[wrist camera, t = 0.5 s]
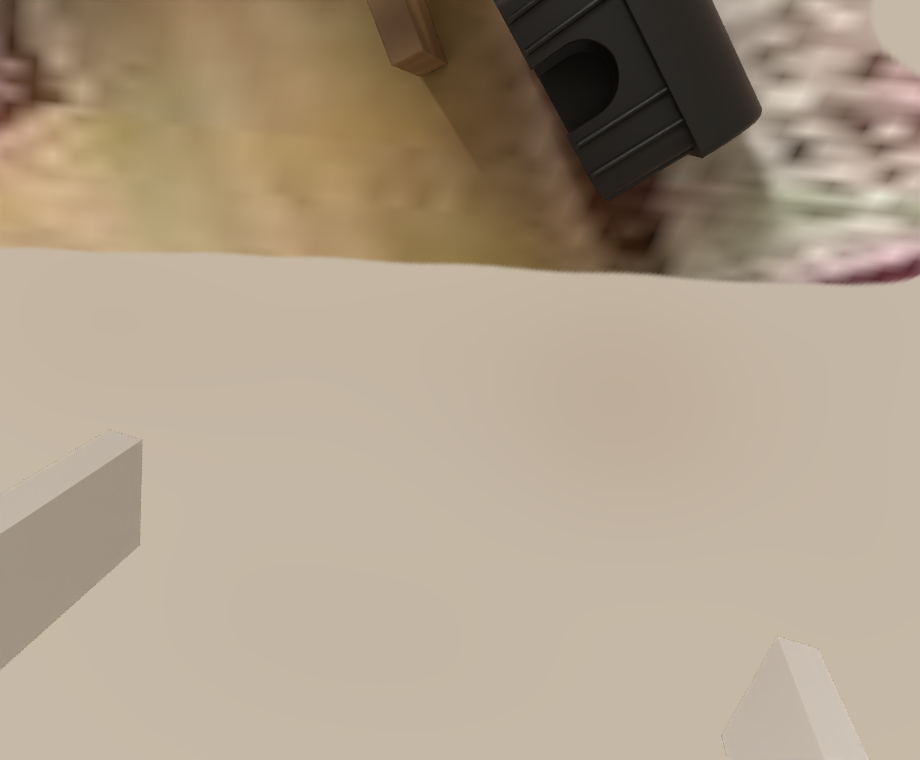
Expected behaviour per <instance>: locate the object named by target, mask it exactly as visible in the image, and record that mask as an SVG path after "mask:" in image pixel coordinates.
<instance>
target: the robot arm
mask: <svg viewBox="0 0 920 760" xmlns="http://www.w3.org/2000/svg"><path fill="white" fill-rule="evenodd" d="M141 474H142V439H139V438H136V437H132V436H129V435H126V434H123V433H119V432H116V431H113V430H110V429H109V430H107V431H105V432H104V433H102V434H100V435H99V436H97V437H95V438H94V439H92V440H90V441H89V442H87V443H85V444H84V445H82V446H80V447H79V448H77V449H75V450H73V451H72V452H70V453H69V454H67V455H65V456H64V457H62V458H60V459H59V460H57V461H55V462H53V463H52V464H50V465H49V466H47V467H45V468H43V469H42V470H40V471H38V472H37V473H35V474H33V475H32V476H30V477H28V478H27V479H25V480H24V481H22V482H20V483H18V484H17V485H15V486H13V487H12V488H10V489H8V490H7V491H5V492H3V493H1V494H0V670H1V669H2V668H3V667H4V666H5V665H6V664H8V663H9V662H10V661H11V660H12V659H13V658H14V657H15V656H16V655H18V653H20V652H21V651H22V650H23V649H24V648H25V647H26V646H27V645H29V644H30V643H31V642H32V641H33V640H34V639H35V638H37V636H39V635H40V634H41V633H42V632H43V631H44V630H45V629H47V628H48V627H49V626H50V625H51V624H52V623H53V622H54V621H56V620H57V619H58V618H59V617H60V616H61V615H62V614H63V613H64V612H65V611H67V610H68V609H69V608H70V607H71V606H72V605H73V604H74V603H76V601H78V600H79V599H80V598H81V597H82V596H83V595H84V594H86V593H87V592H88V591H89V590H90V589H91V588H92V587H93V586H95V585H96V584H97V583H98V582H99V581H100V580H101V579H102V578H103V577H105V576H106V575H107V574H108V573H109V572H110V571H111V570H112V569H114V568H115V567H116V566H117V565H118V564H119V563H120V562H121V561H122V560H124V559H125V558H126V557H127V556H128V555H129V554H130V553H131V552H132V551H134V550H135V549H136V548H137V547H138V546H139V545H140V518H141V517H140V516H141ZM722 739H723V744H724V748H725V752H726V757H727V760H869V759H868V756H867V755H866V752H865V750H864V748H863V746H862V743H861V741H860V739H859V737H858V735H857V732H856V730H855V728H854V726H853V724H852V722H851V719H850V717H849V715H848V713H847V711H846V708H845V706H844V704H843V702H842V699H841V697H840V695H839V693H838V691H837V688H836V687H835V684H834V682H833V680H832V677H831V675H830V673H829V671H828V669H827V667H826V664H825V662H824V660H823V658H822V656H821V653H820V651H819V649H818V648H814V647H811V646H808V645H805V644H802V643H798V642H795V641H792V640H789V639H785V638H782V637H779V636H777V637H776V639H775V641H774V643H773V644H772V646H771V648H770V650H769V652H768V653H767V655H766V657H765V659H764V661H763V662H762V664H761V666H760V668H759V669H758V671H757V673H756V675H755V677H754V679H753V680H752V682H751V684H750V686H749V687H748V689H747V691H746V693H745V694H744V696H743V698H742V700H741V702H740V703H739V705H738V707H737V709H736V710H735V712H734V714H733V716H732V718H731V719H730V721H729V723H728V725H727V726H726V728H725V730H724V732H723V734H722Z"/></svg>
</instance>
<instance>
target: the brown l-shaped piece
mask: <svg viewBox="0 0 920 760" xmlns="http://www.w3.org/2000/svg"><path fill="white" fill-rule="evenodd" d="M367 2H368V5H369V7H370V10H371V12H372V15H373V18H374V20H375V23H376V26H377V28H378V31H379V33H380V36H381V39H382V41H383V44H384V46H385V49H386V52H387V54H388V57H389V60H390V62H391V65H393V66H395V67H398V68H400V69H403V70H405V71H408V72H410V73H413V74H415V75H418V76H420V77H421V76H423V75H425V74H427V73H429V72H431V71H433V70H435V69H437V68H440V67H442V66H444V65H446V64H448V63H447V61H446V58H445V55H444V52H443V50H442V47H441V44H440V41H439V38H438V36H437V33H436V30H435V27H434V25H433V22H432V19H431V16H430V13H429V11H428V8H427V5H426V2H425V0H367Z"/></svg>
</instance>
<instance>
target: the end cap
mask: <svg viewBox="0 0 920 760" xmlns="http://www.w3.org/2000/svg"><path fill="white" fill-rule="evenodd" d="M494 2H495V4H496V6H497V8H498V9H499V11H500V13H501V15H502V17H503V19H504V21H505V22H506V24H507V26H508V28H509V30H510V32H511V33H512V35H513V37H514V39H515V41H516V43H517V44H518V46H519V48H520V50H521V52H522V54H523V55H524V57H525V59H526V61H527V63H528V65H529V67H530V68H531V70H532V69H534V71H535V72H536V74H537V76H538V78H539V79H540V81H541V82H542V84H543V86H544V88H545V90H546V92H547V94H548V95H549V97H550V99H551V101H552V103H553V105H554V106H555V108H556V110H557V112H558V114H559V116H560V118H561V119H562V121H563V123H564V125H565V127H566V129H567V130H568V132H569V134H568V135H567V136H568V138H569V140H570V142H571V144H572V146H573V148H574V149H575V151H576V153H577V155H578V157H579V159H580V160H581V162H582V164H583V166H584V168H585V170H586V171H587V173H588V175H589V177H590V179H591V181H592V182H593V184H594V186H595V188H596V190H597V192H598V193H599V195H600V197H601V199H602V200H604V199H605V200H612V199H614V198H615V197H617V196H619V195H620V194H622V193H624V192H625V191H627V190H629V189H630V188H632V187H634V186H635V185H637V184H639V183H640V182H642V181H644V180H646V179H647V178H649V177H651V176H652V175H654V174H656V173H657V172H659V171H661V170H662V169H664V168H666V167H667V166H669V165H671V164H672V163H674V162H676V161H677V160H679V159H681V158H682V157H684V156H686V155H692V156H696V157H701V158H703V157H705V156H707V155H708V154H710V153H712V152H713V151H715V150H717V149H718V148H720V147H721V146H723V145H724V144H726V143H728V142H729V141H731V140H732V139H733V138H735V137H736V136H738V135H739V134H741V133H742V132H743V131H745V130H746V129H748V128H749V127H750V126H751V125H752V124H754V123H755V122H756V121H757V120H758V118H759V117H760V115H761V112H762V108H761V105H760V103H759V101H758V99H757V97H756V94H755V92H754V90H753V88H752V86H751V84H750V81H749V79H748V77H747V75H746V73H745V71H744V68H743V66H742V64H741V62H740V60H739V58H738V55H737V53H736V51H735V49H734V47H733V45H732V42H731V40H730V38H729V36H728V34H727V32H726V29H725V27H724V25H723V23H722V21H721V19H720V16H719V14H718V12H717V10H716V8H715V6H714V3H713V1H712V0H494Z"/></svg>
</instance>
